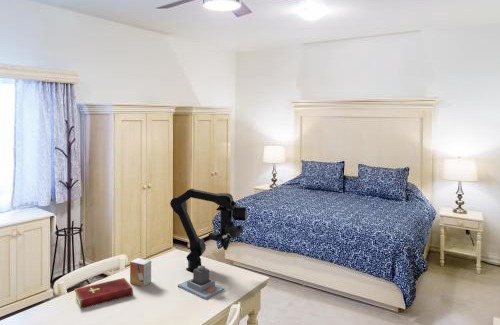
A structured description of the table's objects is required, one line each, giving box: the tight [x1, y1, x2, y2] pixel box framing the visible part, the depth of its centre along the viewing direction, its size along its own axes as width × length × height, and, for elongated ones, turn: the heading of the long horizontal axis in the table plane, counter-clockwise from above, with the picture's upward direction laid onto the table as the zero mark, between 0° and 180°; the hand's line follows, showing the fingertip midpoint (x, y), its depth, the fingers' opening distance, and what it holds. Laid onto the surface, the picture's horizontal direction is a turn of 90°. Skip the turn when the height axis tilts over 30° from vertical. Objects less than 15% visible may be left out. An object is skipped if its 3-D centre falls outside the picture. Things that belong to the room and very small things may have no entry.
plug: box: [192, 265, 210, 286], centre depth 169 cm, size 5×5×9 cm
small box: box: [129, 257, 152, 287], centre depth 174 cm, size 8×6×10 cm
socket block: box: [177, 278, 225, 300], centre depth 170 cm, size 18×12×4 cm, turn 50°
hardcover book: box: [74, 277, 134, 309], centre depth 160 cm, size 12×21×4 cm, turn 126°
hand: (225, 249), depth 186 cm, fingers closed
